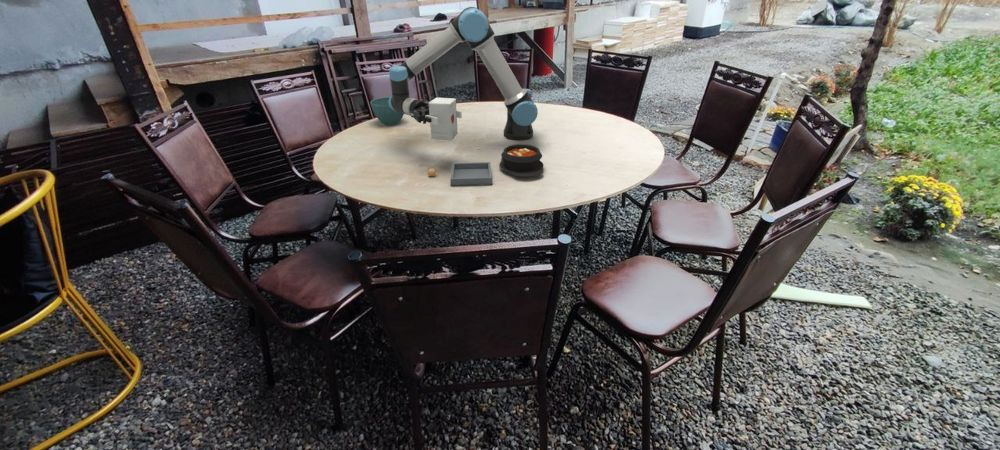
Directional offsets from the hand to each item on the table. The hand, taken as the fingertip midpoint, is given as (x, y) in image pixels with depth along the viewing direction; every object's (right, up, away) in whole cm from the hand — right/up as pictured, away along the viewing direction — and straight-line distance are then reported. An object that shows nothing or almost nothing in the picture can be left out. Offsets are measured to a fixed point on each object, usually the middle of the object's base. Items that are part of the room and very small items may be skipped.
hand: (449, 118), depth 168 cm
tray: (+9, -23, +2) cm, 25 cm away
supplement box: (-3, -6, +7) cm, 9 cm away
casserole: (+29, -19, +9) cm, 36 cm away
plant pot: (-40, +13, +63) cm, 76 cm away
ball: (-7, -23, +3) cm, 24 cm away
